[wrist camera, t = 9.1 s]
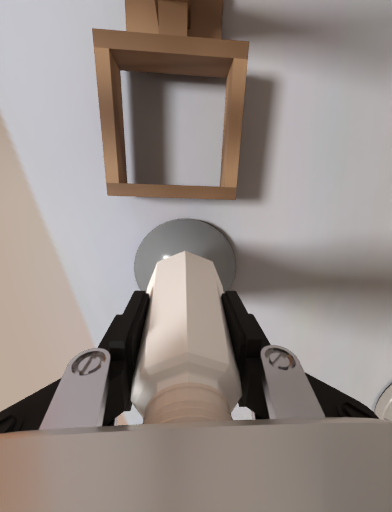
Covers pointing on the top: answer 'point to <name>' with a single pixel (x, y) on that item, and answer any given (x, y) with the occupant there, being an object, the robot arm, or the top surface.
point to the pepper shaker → (185, 347)
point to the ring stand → (170, 62)
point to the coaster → (184, 249)
